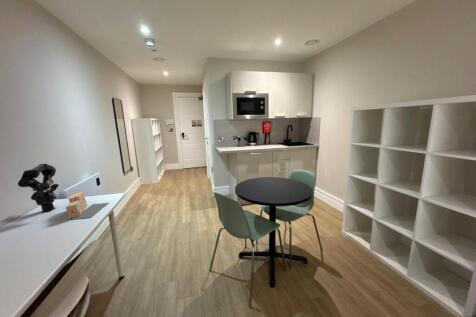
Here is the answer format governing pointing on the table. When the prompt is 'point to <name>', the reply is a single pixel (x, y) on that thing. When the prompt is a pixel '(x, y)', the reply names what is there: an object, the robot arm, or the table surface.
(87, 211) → the mat
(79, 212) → the stack of blocks
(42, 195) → the robot arm
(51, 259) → the table surface
